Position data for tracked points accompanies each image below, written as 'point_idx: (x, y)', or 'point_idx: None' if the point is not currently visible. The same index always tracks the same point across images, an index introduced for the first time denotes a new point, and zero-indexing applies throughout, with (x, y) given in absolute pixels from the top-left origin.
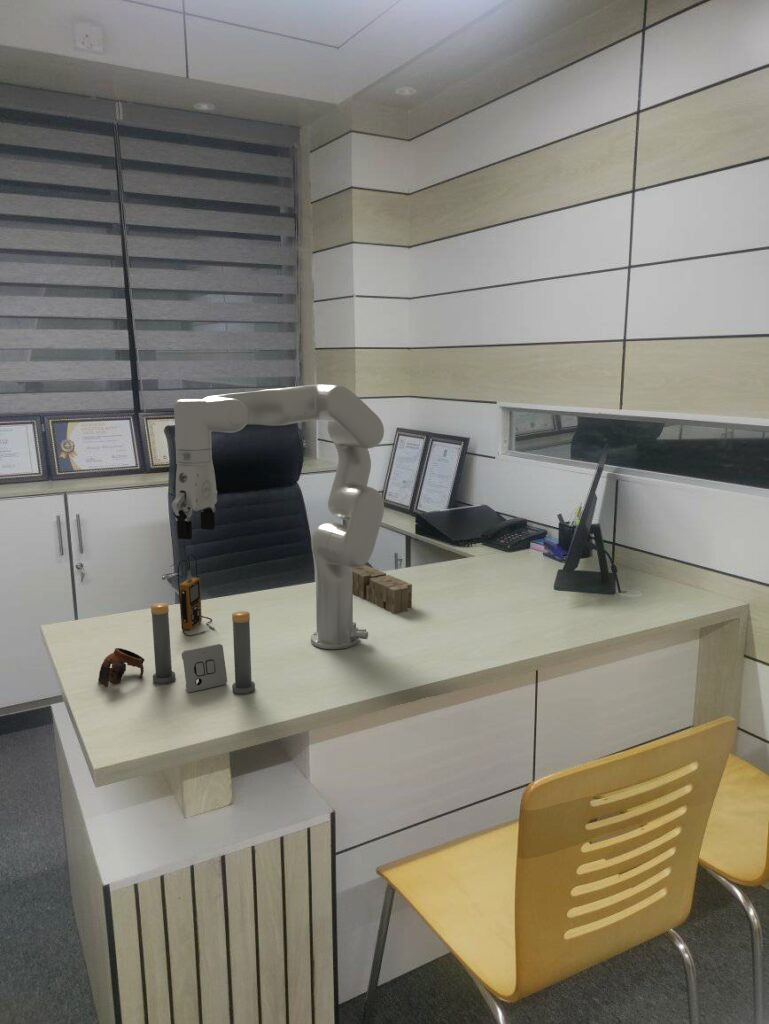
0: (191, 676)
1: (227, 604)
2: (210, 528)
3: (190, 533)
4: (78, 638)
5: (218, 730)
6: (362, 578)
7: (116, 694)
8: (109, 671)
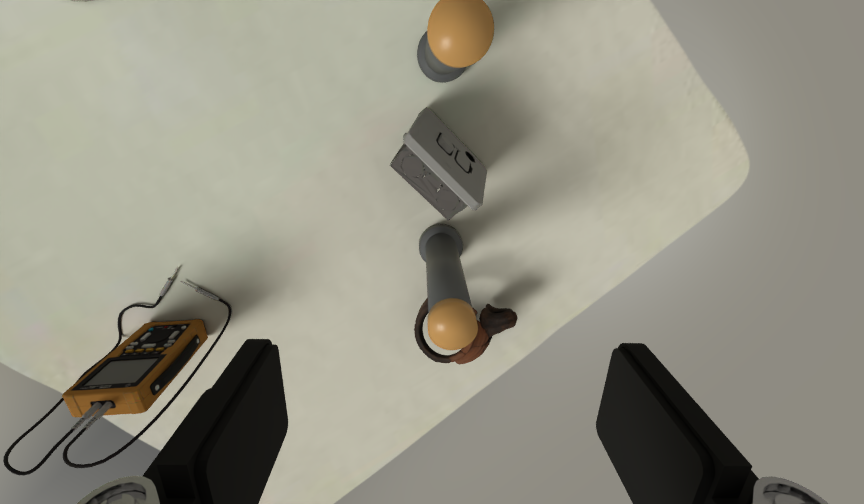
0: (478, 171)
1: (17, 322)
2: (275, 364)
3: (664, 373)
4: (326, 466)
5: (628, 21)
6: None
7: (515, 290)
8: (514, 325)
